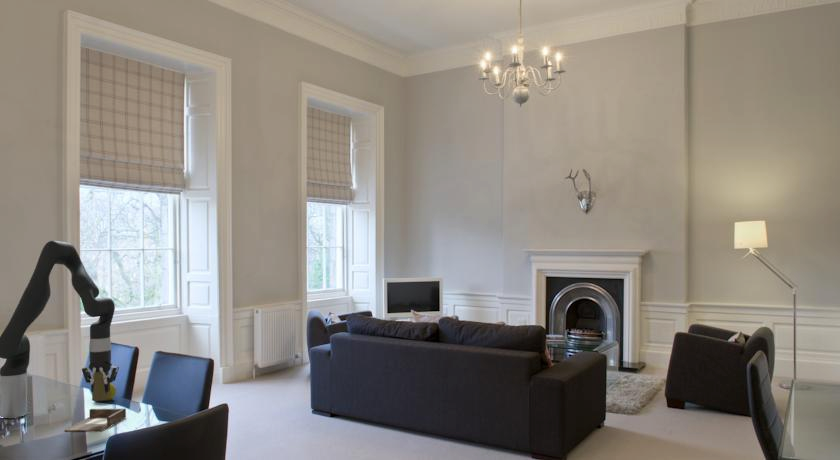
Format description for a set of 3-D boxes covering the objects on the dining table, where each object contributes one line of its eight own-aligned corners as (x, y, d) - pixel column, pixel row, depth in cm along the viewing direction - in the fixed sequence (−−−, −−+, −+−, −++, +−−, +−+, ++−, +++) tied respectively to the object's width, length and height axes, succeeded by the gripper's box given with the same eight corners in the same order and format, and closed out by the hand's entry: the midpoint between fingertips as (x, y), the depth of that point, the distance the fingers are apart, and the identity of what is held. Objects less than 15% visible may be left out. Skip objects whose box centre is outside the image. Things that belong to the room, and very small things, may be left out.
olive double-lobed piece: (88, 400, 238) (88, 372, 238) (99, 396, 244) (99, 368, 244) (102, 401, 237) (101, 372, 237) (112, 397, 243) (112, 369, 243)
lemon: (119, 400, 273) (119, 382, 273) (100, 404, 267) (100, 385, 267) (110, 396, 280) (110, 379, 280) (91, 399, 275) (91, 381, 275)
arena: (64, 431, 229) (64, 422, 230) (91, 417, 247) (91, 408, 247) (101, 431, 229) (101, 422, 229) (125, 417, 247) (125, 408, 247)
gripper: (123, 347, 244) (123, 390, 244) (87, 347, 245) (87, 391, 244) (113, 350, 237) (113, 395, 237) (76, 351, 237) (77, 396, 237)
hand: (100, 393), depth 241 cm, fingers closed on olive double-lobed piece, 4 cm apart
